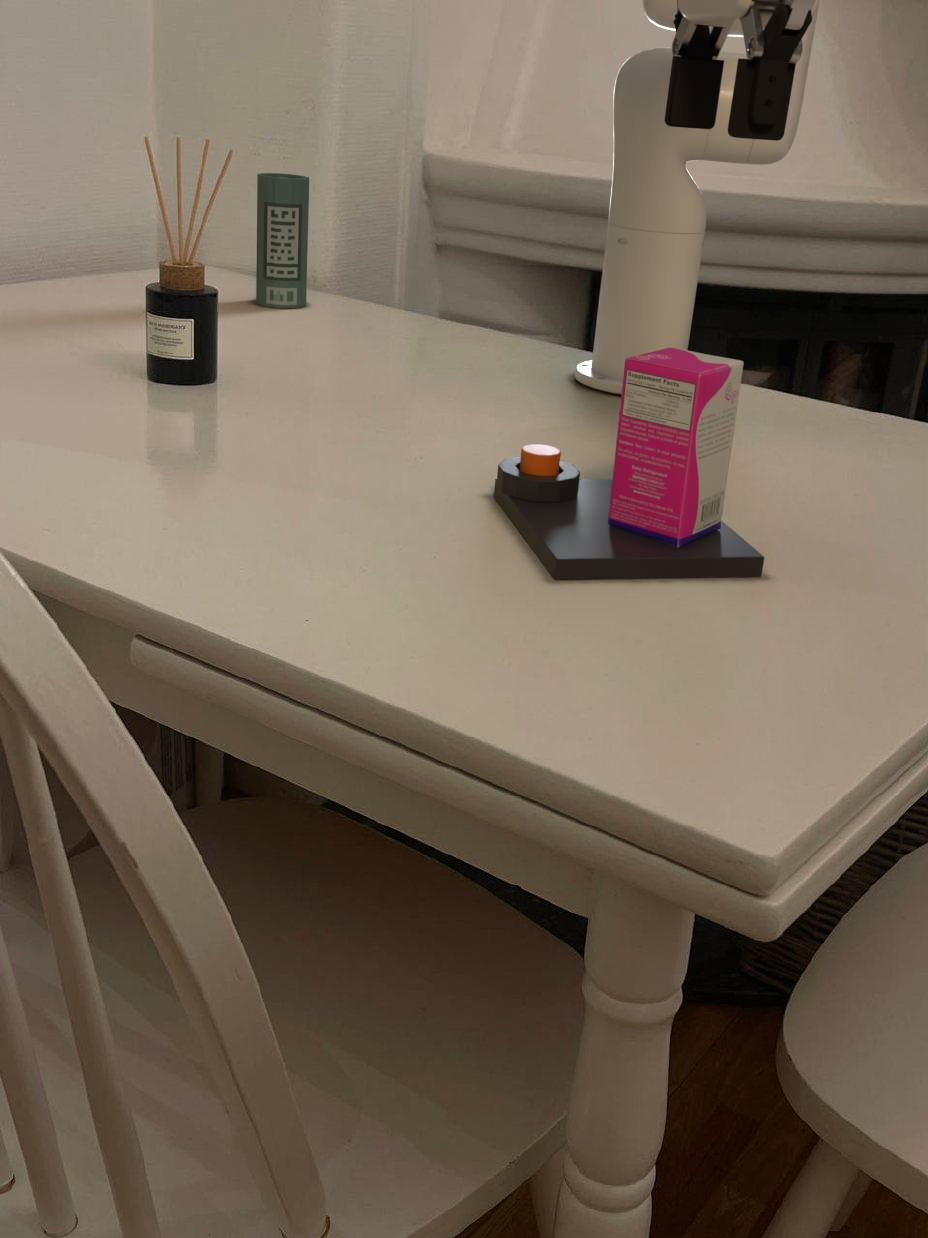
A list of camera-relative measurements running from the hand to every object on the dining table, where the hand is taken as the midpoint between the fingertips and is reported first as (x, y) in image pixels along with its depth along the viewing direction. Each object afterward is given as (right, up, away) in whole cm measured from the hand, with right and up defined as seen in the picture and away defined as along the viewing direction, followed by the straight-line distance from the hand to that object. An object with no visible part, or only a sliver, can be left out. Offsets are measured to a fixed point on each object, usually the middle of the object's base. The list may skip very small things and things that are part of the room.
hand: (720, 132), depth 75 cm
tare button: (-10, -18, +15) cm, 26 cm away
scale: (-4, -23, +12) cm, 26 cm away
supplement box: (-2, -23, +10) cm, 25 cm away
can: (-38, +10, +81) cm, 90 cm away
